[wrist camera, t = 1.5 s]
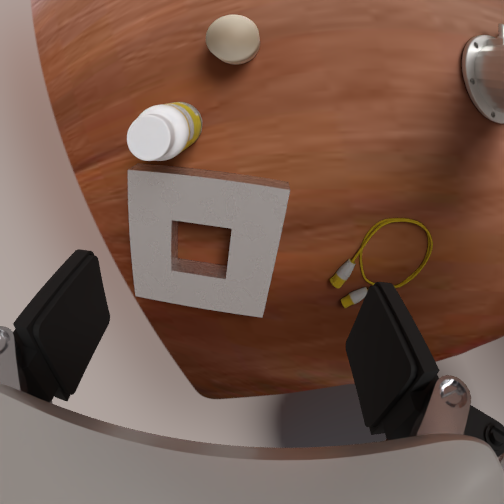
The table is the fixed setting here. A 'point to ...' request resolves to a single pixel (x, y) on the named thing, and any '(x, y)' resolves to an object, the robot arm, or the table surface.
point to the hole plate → (207, 213)
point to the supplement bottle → (164, 131)
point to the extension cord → (349, 265)
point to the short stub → (233, 39)
